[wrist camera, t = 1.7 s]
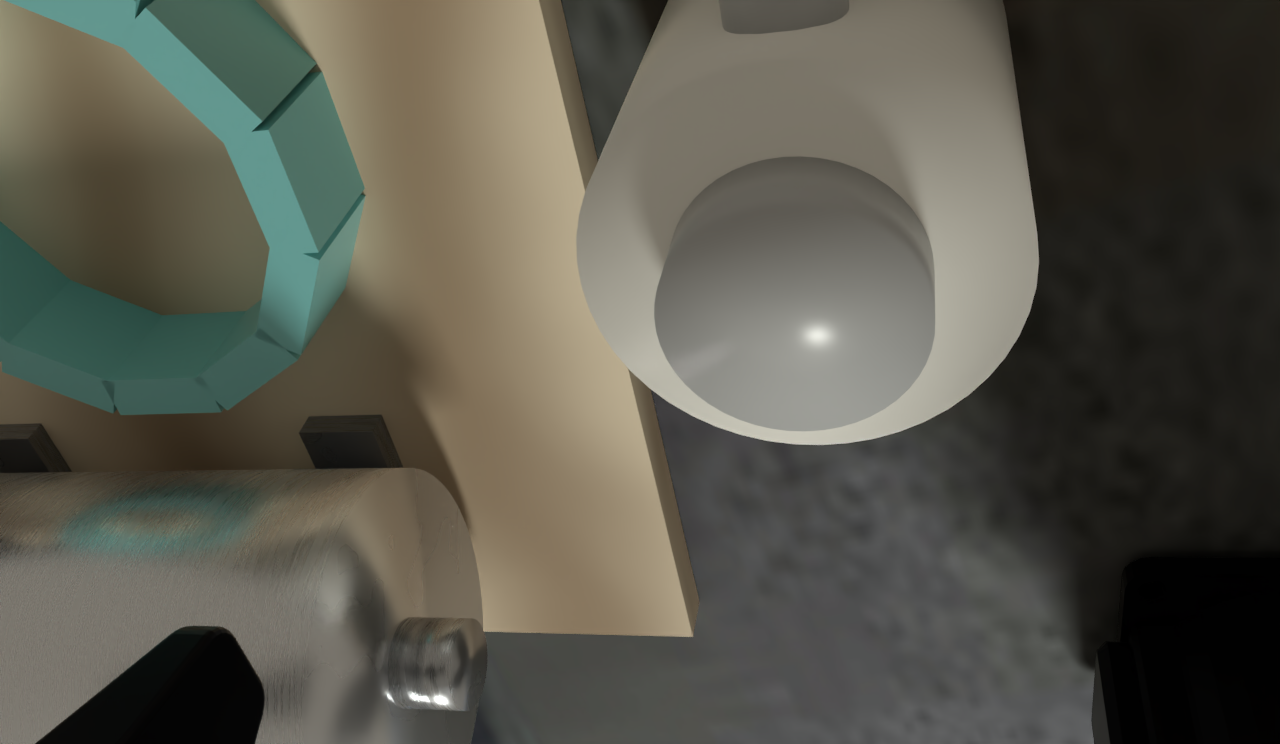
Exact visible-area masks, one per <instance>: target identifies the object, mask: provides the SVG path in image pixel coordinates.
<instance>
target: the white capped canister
mask: <svg viewBox="0 0 1280 744" xmlns="http://www.w3.org/2000/svg"><path fill="white" fill-rule="evenodd" d="M576 246H577V265H578V270H579V276H580V281H581V287H582V289H583V292H584V295H585V298H586V301H587V304H588V307H589V310H590V312H591V314H592V316H593V318H594V320H595V322H596V324H597V326H598V328H599V330H600V332H601V333H602V335H603V336H604V338H605V339H606V341H607V342H608V344H609V345H610V347H611V348H612V350H613V351H614V353H615V354H616V355H617V356H618V357H619V358H620V360H621V361H622V362H623V363H624V364H625V365H626V366H627V368H628V369H629V370H630V371H631V372H632V373H633V374H634V375H635V376H637V377H638V378H639V379H640V380H641V381H642V382H643V383H644V384H645V385H646V386H647V387H649V388H650V389H651V390H653V391H654V392H655V393H657V394H658V395H659V396H661V397H662V398H664V399H665V400H666V401H668V402H669V403H671V404H672V405H674V406H676V407H678V408H679V409H681V410H683V411H685V412H686V413H688V414H690V415H691V416H694V417H696V418H698V419H700V420H702V421H705V422H707V423H709V424H711V425H714V426H716V427H719V428H722V429H725V430H728V431H731V432H734V433H737V434H740V435H744V436H748V437H752V438H757V439H761V440H766V441H772V442H780V443H788V444H803V445H829V444H844V443H852V442H858V441H864V440H870V439H875V438H879V437H882V436H886V435H889V434H893V433H897V432H900V431H903V430H905V429H908V428H910V427H913V426H915V425H918V424H920V423H923V422H925V421H927V420H929V419H931V418H933V417H935V416H936V415H938V414H940V413H942V412H944V411H946V410H948V409H949V408H951V407H952V406H954V405H955V404H956V403H958V402H959V401H961V400H962V399H964V398H965V397H967V396H968V395H969V394H971V393H972V392H973V391H974V390H975V389H976V388H977V387H978V386H979V385H981V384H982V383H983V382H984V381H985V380H986V379H987V378H988V377H989V376H990V375H991V374H992V373H993V372H994V370H995V369H996V368H997V367H998V366H999V365H1000V363H1001V362H1002V361H1003V360H1004V359H1005V358H1006V356H1007V354H1008V353H1009V351H1010V350H1011V348H1012V347H1013V345H1014V343H1015V342H1016V340H1017V339H1018V337H1019V336H1020V333H1021V331H1022V329H1023V327H1024V324H1025V322H1026V320H1027V317H1028V315H1029V313H1030V310H1031V306H1032V302H1033V298H1034V295H1035V291H1036V287H1037V277H1038V267H1039V252H1038V236H1037V228H1036V221H1035V214H1034V207H1033V200H1032V193H1031V186H1030V179H1029V172H1028V165H1027V158H1026V151H1025V144H1024V137H1023V130H1022V123H1021V116H1020V109H1019V102H1018V95H1017V88H1016V81H1015V74H1014V67H1013V60H1012V53H1011V46H1010V39H1009V32H1008V25H1007V18H1006V13H1005V8H1004V4H1003V0H668V2H667V4H666V6H665V8H664V11H663V13H662V15H661V18H660V20H659V22H658V25H657V27H656V29H655V31H654V34H653V36H652V38H651V41H650V43H649V45H648V48H647V50H646V52H645V54H644V57H643V59H642V61H641V64H640V66H639V68H638V71H637V73H636V75H635V77H634V80H633V82H632V84H631V87H630V89H629V91H628V94H627V96H626V98H625V101H624V103H623V105H622V107H621V110H620V112H619V114H618V117H617V119H616V121H615V124H614V126H613V128H612V130H611V133H610V135H609V137H608V140H607V142H606V144H605V147H604V149H603V151H602V153H601V156H600V158H599V160H598V163H597V165H596V167H595V170H594V172H593V174H592V176H591V179H590V181H589V183H588V186H587V188H586V191H585V195H584V198H583V202H582V205H581V209H580V212H579V219H578V228H577V236H576Z"/></svg>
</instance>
